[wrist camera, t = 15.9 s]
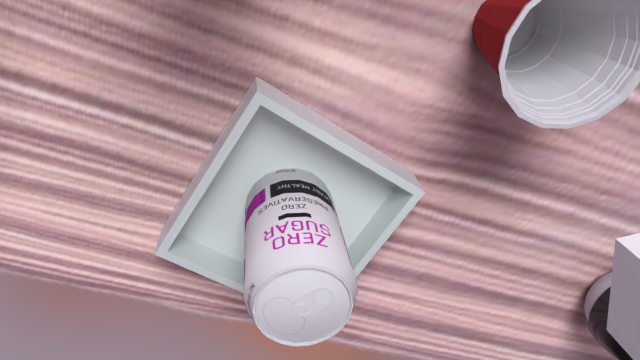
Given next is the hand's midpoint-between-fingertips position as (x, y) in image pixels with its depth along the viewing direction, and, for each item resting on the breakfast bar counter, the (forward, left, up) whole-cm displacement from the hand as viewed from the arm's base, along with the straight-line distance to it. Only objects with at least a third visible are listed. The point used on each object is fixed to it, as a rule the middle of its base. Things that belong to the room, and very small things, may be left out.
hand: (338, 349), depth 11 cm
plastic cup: (+16, +12, -35) cm, 40 cm away
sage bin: (+9, -12, -35) cm, 38 cm away
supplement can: (+9, -12, -34) cm, 37 cm away
